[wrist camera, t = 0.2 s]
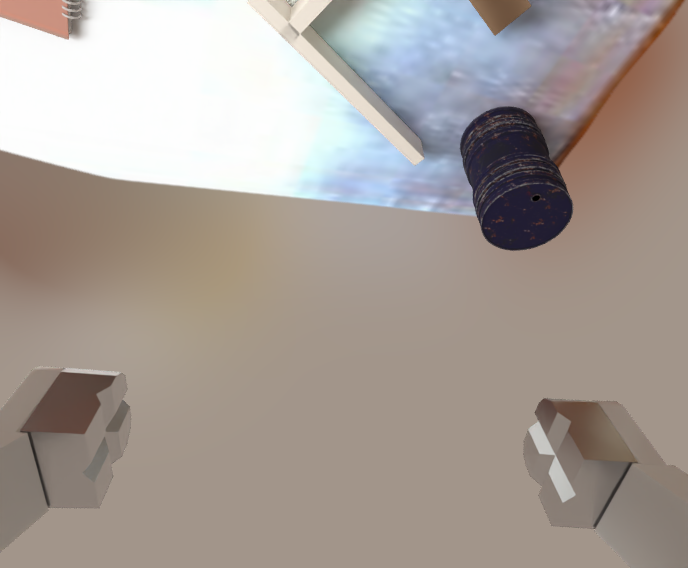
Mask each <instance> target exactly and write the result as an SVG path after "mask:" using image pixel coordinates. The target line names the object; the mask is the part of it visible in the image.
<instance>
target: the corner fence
mask: <svg viewBox="0 0 688 568" xmlns="http://www.w3.org/2000/svg"><path fill="white" fill-rule="evenodd" d="M331 1H332V0H298V1H297V2H296V3H295V4H294V5H293V6H292V7H291V6H290V5H289V4H288V3H287V2H286V1H285V0H248V2H247V3H248V4H249V5H250V6H251V7H252V8H253V9H254V10H255V11H256V12H257V13H258V14H259V15H260V16H261V17H262V18H263V19H264V20H265V21H267V22H268V23H269V24H270V25H271V26H272V27H273V28H274V29H275V30H276V31H277V32H278V33H279V34H280V35H281V36H282V37H283V38H284V39H285V40H286V41H287V42H288V43H289V44H290V45H291V46H292V47H293V48H294V49H295V50H296V51H297V52H298V53H299V54H300V55H301V56H302V57H304V58H305V59H306V60H307V61H308V62H309V63H310V64H311V65H312V66H313V67H314V68H315V69H316V70H317V71H318V72H319V73H320V74H321V75H322V76H323V77H324V78H325V79H326V80H327V81H328V82H329V83H330V84H331V85H332V86H333V87H334V88H335V89H336V90H337V91H338V92H339V93H341V94H342V95H343V96H344V97H345V98H346V99H347V100H348V101H349V102H350V103H351V104H352V105H353V106H354V107H355V108H356V109H357V110H358V111H359V112H360V113H361V114H362V115H363V116H364V117H365V118H366V119H367V120H368V121H369V122H370V123H371V124H372V125H373V126H374V127H375V128H376V129H378V130H379V131H380V132H381V133H382V134H383V135H384V136H385V137H386V138H387V139H388V140H389V141H390V142H391V143H392V144H393V145H394V146H395V147H396V148H397V149H398V150H399V151H400V152H401V153H402V154H403V155H404V156H405V157H406V158H407V159H408V160H409V161H410V162H411V163H412V164H413V165H416V164H418V163H419V162H421V161H422V160H423V159H424V153H423V148H422V142H421V140H420V139H419V137H418V136H417V135H416V134H415V133H414V132H413V131H412V130H411V129H410V128H409V127H408V126H407V125H406V124H405V123H404V122H403V121H402V120H401V119H400V118H399V117H398V116H397V115H396V114H395V113H394V112H393V111H392V110H391V109H390V108H389V107H388V106H387V105H386V104H385V103H384V101H383V100H382V99H381V98H380V97H379V96H378V95H377V94H376V93H375V92H374V91H373V90H372V89H371V88H370V87H369V86H368V85H367V84H366V83H365V82H364V81H363V80H362V79H361V78H360V77H359V76H358V75H357V74H356V73H355V72H354V71H353V70H352V69H351V68H350V67H349V66H348V64H347V63H346V62H345V61H344V60H343V59H342V58H341V57H340V56H339V55H338V54H337V53H336V52H335V51H334V50H333V49H332V48H331V47H330V46H329V45H328V44H327V43H326V42H325V41H324V40H323V39H322V38H321V37H320V36H319V35H318V34H317V33H316V32H315V31H314V30H313V28H312V27H311V26H310V25H309V24H310V23H311V22H312V21H313V20H314V19H315V18H316V17H317V16H318V15H319V14H320V13H321V12H322V10H323V9H324V8H325V7H326V6H327V5H328V4H329V3H330V2H331Z"/></svg>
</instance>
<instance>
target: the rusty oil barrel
mask: <svg viewBox="0 0 688 568" xmlns="http://www.w3.org/2000/svg"><path fill="white" fill-rule="evenodd" d="M460 150H461V155H462V158H463V166H464V170H465V173H466V175H467V178H468V181H469V183H470V185H471V186H472V189H473V204H474V207H475V211H476V215H477V218H478V220H479V223H480V226H481V230H482V233H483V235H484V237H485V239H486V240H487V241H488V242H489V243H490V244H492V245H494V246H496V247H498V248H501V249H505V250H512V251H513V250H514V251H517V250H527V249H531V248H535V247H538V246H540V245H542V244H545V243H547V242H548V241H550V240H552V239H553V238H555V237H556V236H558V235H559V234H560V233H561V232H562V231H563V230H564V229H565V228H566V226H567V225H568V223H569V222H570V219H571V217H572V214H573V203H572V200H571V198H570V195H569V193H568V191H567V188H566V184H565V182H564V180H563V178H562V176H561V174H560V171H559V169H558V167H557V166H556V165H555V164H554V163H553V161H552V160H550V158H549V152H548V148H547V145H546V142H545V139H544V137H543V135H542V133H541V131H540V129H539V128H538V127H537V125H536V122H535V120H534V119H533V117H532V116H531V115H530V114H529V113H528V112H526V111H524V110H522V109H520V108H517V107H498V108H494V109H491V110H489V111H486V112H484V113H483V114H481V115H479V116H478V117H477V118H475V119H474V120H473V121H472V122H471V123H470V124H469V126H468V127H467V128H466V130H465V131H464V133H463V136H462V138H461V143H460Z"/></svg>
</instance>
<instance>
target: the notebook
mask: <svg viewBox="0 0 688 568" xmlns="http://www.w3.org/2000/svg"><path fill="white" fill-rule="evenodd" d="M81 1H82V0H80V1H79V2H71V0H0V17H3V18H6V19H9V20H12V21H14V22H17V23H20V24H23V25H26V26H29V27H32V28H35V29H38V30H41V31H44V32H47V33H50V34H53V35H56V36H59V37H62V38H65V39H69V34H70V33H71V32H72V19H79V18H81V16H82V14H81V13H80V16H77V17H72V16H71V12H79V11H81V9H82V7H81V6H80V9H77V10H74V9H71V5H79V4H81Z"/></svg>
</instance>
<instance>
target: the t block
mask: <svg viewBox="0 0 688 568" xmlns="http://www.w3.org/2000/svg"><path fill="white" fill-rule="evenodd" d="M469 1H470V2H471V3H472V5H473V6H474V8H475V9H476V10H477V12H478V13H479V15H480V16H481V17H482V19H483V20H484V21H485V23H486V24H487V26H488V27H489V28H490V30H491V31H492V33H493V34H494V35H497V34H498V33H499V32H500V31H502V30H503V29H504V28H505V27H506V26H508V25H509V24H510V23H511V22H513V21H514V20H515V19H516V18H517V17H519V16H520V15H521V14H522V13H524V12H525V11H526V10H527V9H528V8H530V7H531V5H530V3H529V1H528V0H469Z"/></svg>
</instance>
